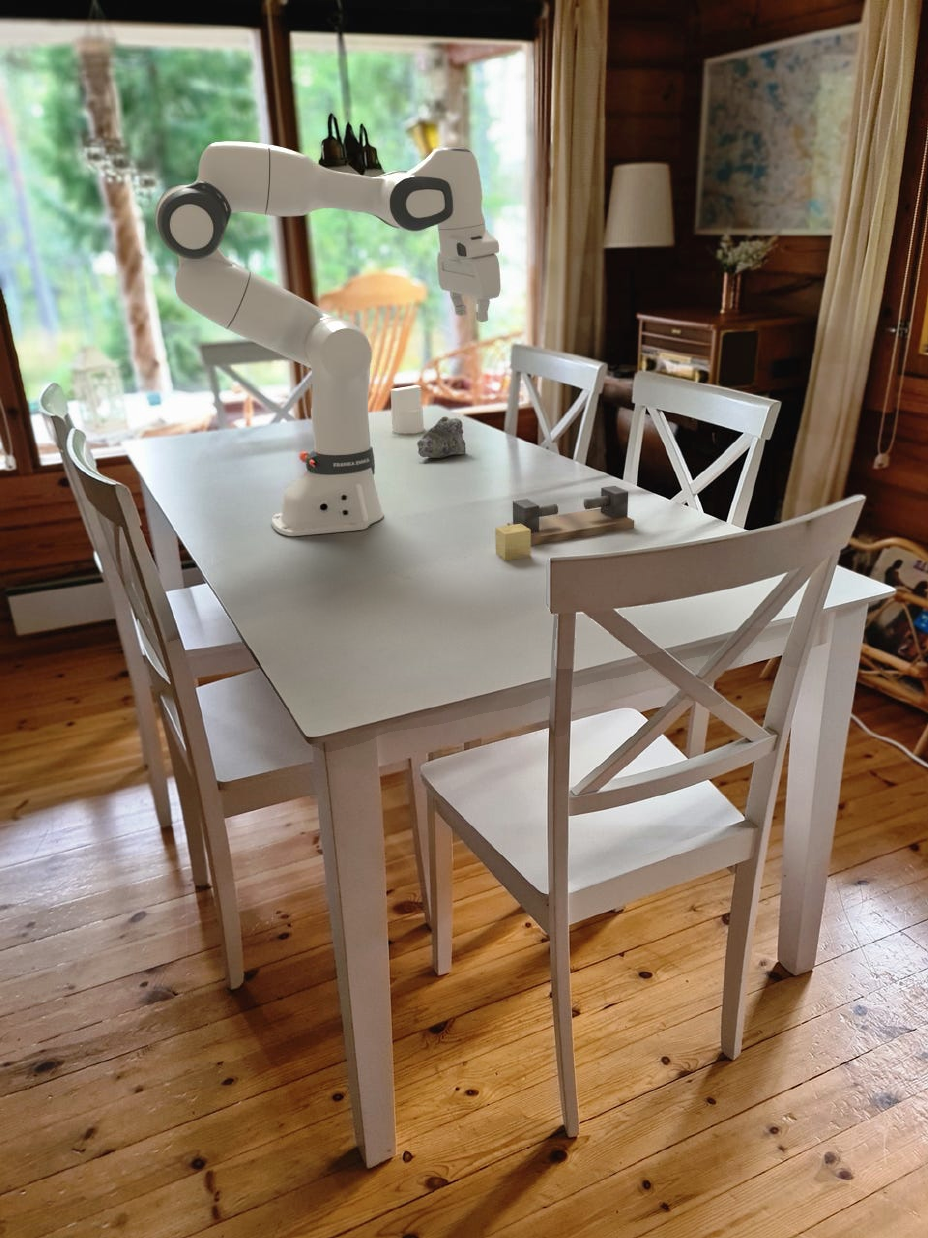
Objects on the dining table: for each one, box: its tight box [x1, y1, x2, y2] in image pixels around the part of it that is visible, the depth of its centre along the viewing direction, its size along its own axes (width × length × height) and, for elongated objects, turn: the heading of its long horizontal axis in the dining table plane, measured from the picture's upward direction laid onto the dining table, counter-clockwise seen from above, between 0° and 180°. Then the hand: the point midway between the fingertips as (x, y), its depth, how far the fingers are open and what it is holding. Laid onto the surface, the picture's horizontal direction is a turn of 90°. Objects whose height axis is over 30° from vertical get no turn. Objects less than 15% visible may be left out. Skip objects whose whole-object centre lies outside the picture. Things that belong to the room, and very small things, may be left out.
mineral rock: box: [416, 416, 467, 459], centre depth 233 cm, size 13×11×10 cm
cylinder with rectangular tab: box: [390, 384, 425, 434], centre depth 262 cm, size 9×9×12 cm
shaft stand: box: [506, 485, 635, 547], centre depth 176 cm, size 22×10×6 cm, turn 113°
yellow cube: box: [494, 524, 532, 562], centre depth 164 cm, size 5×4×5 cm
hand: (471, 318), depth 180 cm, fingers open, 8 cm apart
